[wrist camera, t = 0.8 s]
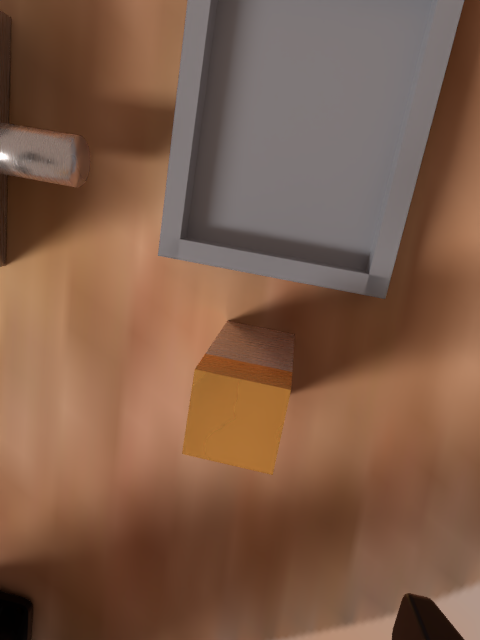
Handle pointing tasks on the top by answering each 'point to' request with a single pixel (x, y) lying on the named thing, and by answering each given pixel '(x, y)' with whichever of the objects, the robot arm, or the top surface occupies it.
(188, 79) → the tray
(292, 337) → the block
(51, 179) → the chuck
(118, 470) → the top surface
